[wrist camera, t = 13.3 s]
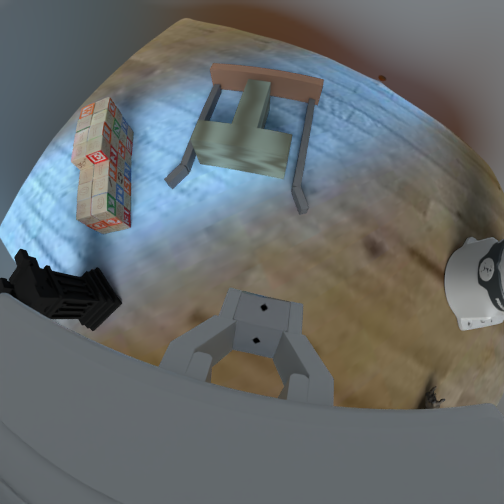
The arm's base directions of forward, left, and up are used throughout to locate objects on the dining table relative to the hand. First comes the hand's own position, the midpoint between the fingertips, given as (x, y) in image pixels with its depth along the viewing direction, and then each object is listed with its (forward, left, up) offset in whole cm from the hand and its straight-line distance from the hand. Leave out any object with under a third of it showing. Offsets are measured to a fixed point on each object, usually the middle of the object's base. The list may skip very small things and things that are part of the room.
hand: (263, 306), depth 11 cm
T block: (+8, -29, -31) cm, 43 cm away
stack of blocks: (+31, -16, -32) cm, 47 cm away
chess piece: (+28, +7, -32) cm, 43 cm away
